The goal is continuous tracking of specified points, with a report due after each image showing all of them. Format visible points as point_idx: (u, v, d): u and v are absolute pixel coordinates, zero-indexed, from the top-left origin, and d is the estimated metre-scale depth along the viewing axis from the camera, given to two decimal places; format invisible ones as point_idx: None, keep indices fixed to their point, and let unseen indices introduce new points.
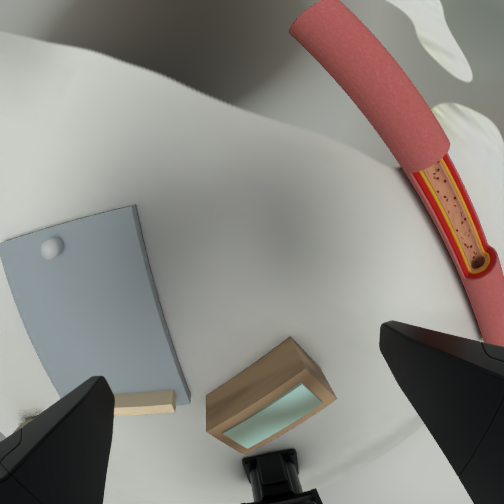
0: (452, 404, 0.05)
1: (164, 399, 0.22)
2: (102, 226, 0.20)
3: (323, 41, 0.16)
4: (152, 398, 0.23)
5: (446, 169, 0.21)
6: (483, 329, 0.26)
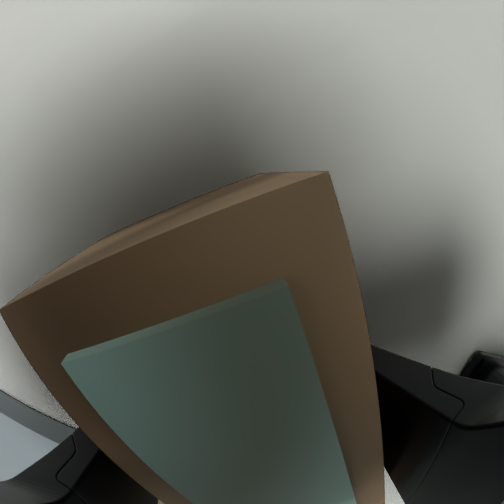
0: (395, 433, 0.05)
1: None
2: None
3: None
4: None
5: None
6: None
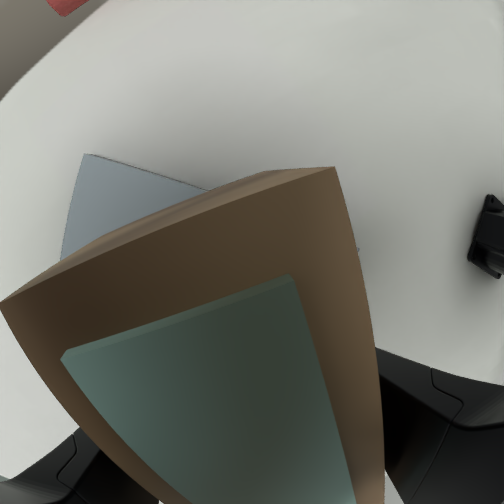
0: (394, 433, 0.05)
1: None
2: (85, 198, 0.16)
3: None
4: None
5: None
6: None
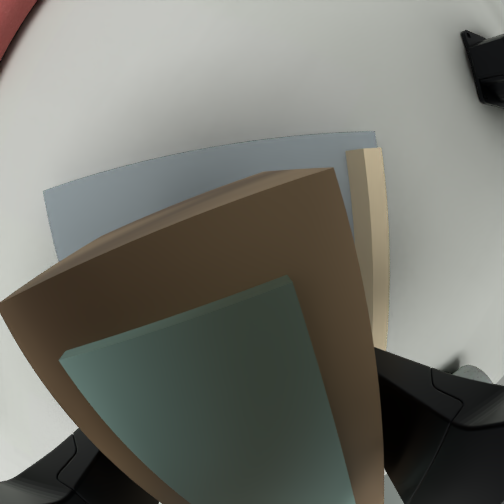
0: (394, 433, 0.05)
1: (358, 164, 0.13)
2: (65, 233, 0.13)
3: None
4: (358, 187, 0.14)
5: None
6: None
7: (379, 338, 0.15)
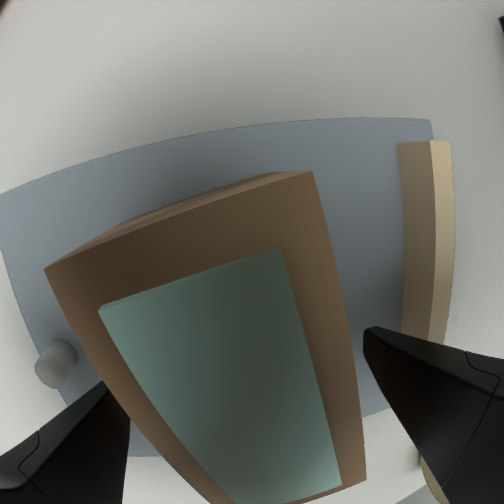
0: (433, 414, 0.05)
1: (419, 161, 0.09)
2: (17, 255, 0.09)
3: None
4: (417, 194, 0.09)
5: None
6: None
7: None
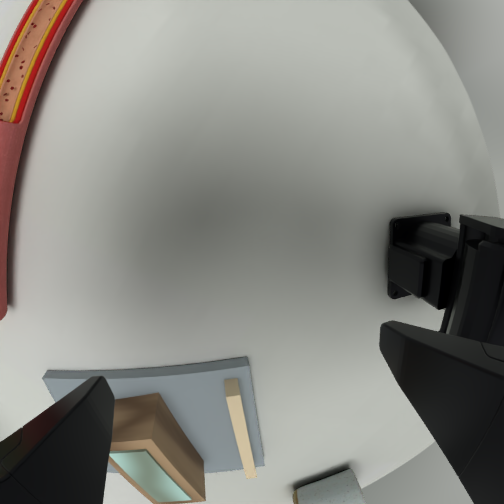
0: (452, 404, 0.05)
1: None
2: None
3: None
4: None
5: None
6: None
7: (249, 468, 0.21)
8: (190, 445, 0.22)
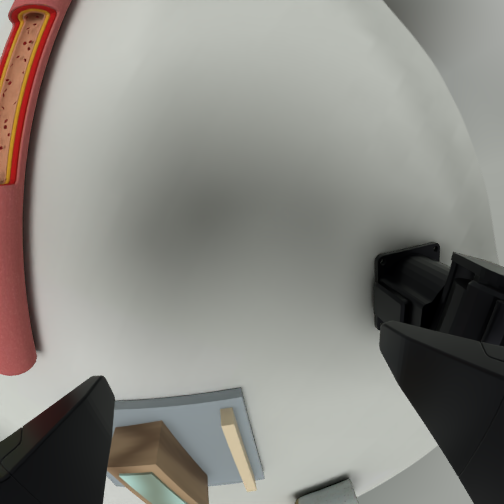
0: (452, 404, 0.05)
1: None
2: None
3: (16, 348, 0.16)
4: None
5: None
6: None
7: (248, 483, 0.22)
8: (194, 463, 0.23)
